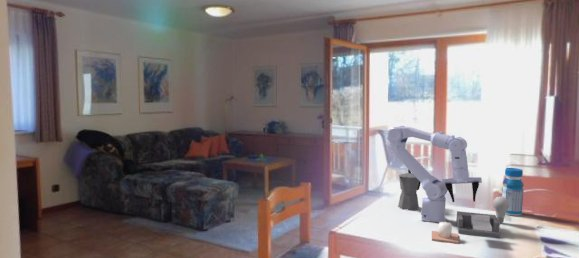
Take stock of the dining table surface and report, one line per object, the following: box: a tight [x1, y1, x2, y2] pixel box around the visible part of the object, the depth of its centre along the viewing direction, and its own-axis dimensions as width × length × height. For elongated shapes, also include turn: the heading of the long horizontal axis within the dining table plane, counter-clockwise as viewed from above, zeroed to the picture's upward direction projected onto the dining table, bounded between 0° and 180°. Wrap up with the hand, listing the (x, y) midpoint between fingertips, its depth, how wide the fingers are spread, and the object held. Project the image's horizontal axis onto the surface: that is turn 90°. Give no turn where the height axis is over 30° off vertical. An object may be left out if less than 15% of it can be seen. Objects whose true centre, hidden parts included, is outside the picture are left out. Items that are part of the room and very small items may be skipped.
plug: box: [438, 221, 453, 238], centre depth 148 cm, size 4×4×5 cm
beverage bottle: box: [501, 167, 525, 217], centre depth 180 cm, size 8×8×20 cm
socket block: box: [455, 210, 501, 239], centre depth 157 cm, size 14×13×5 cm
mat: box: [431, 230, 460, 245], centre depth 148 cm, size 9×9×1 cm
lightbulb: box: [492, 195, 510, 224], centre depth 166 cm, size 6×6×11 cm
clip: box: [471, 214, 492, 232], centre depth 146 cm, size 6×8×3 cm
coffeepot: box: [397, 168, 422, 211], centre depth 188 cm, size 15×9×18 cm, turn 125°
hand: (463, 201), depth 163 cm, fingers open, 7 cm apart
